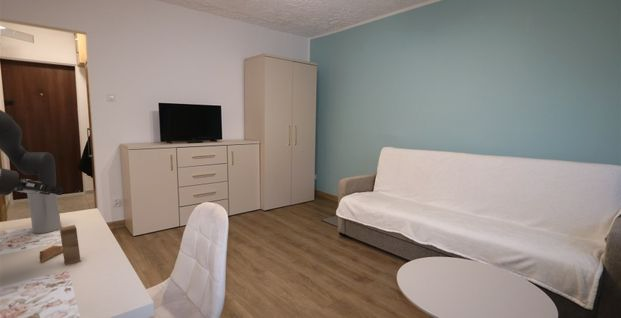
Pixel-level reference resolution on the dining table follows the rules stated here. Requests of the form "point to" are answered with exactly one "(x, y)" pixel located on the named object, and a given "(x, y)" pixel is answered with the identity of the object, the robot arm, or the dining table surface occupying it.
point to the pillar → (70, 244)
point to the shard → (50, 253)
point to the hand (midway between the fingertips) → (56, 191)
